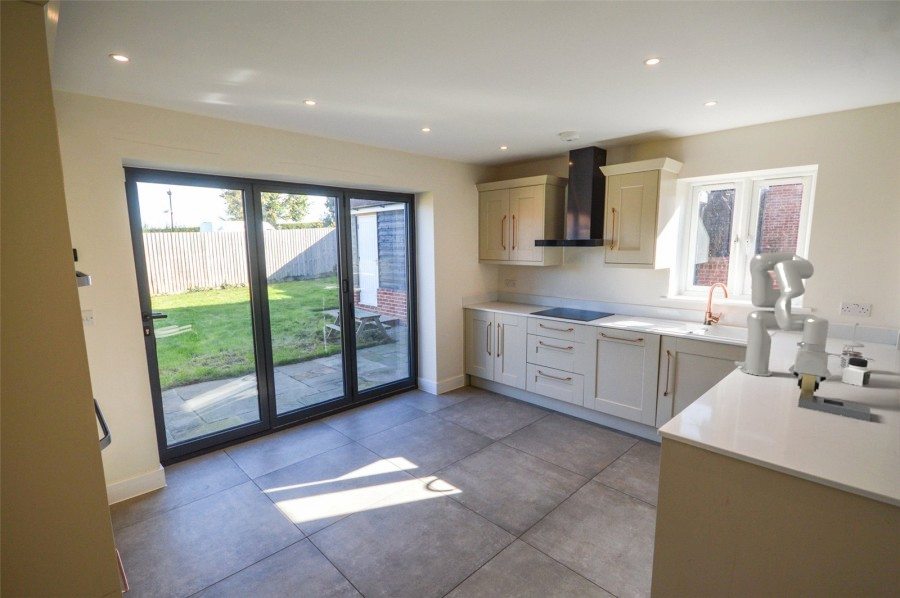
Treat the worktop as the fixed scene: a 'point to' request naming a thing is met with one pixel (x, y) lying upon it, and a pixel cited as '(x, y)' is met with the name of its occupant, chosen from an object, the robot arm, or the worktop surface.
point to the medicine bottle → (857, 372)
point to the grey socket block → (835, 406)
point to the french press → (850, 352)
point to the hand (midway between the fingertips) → (807, 389)
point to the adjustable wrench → (840, 355)
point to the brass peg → (808, 384)
